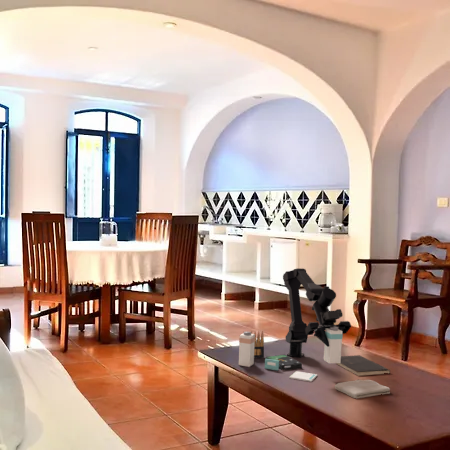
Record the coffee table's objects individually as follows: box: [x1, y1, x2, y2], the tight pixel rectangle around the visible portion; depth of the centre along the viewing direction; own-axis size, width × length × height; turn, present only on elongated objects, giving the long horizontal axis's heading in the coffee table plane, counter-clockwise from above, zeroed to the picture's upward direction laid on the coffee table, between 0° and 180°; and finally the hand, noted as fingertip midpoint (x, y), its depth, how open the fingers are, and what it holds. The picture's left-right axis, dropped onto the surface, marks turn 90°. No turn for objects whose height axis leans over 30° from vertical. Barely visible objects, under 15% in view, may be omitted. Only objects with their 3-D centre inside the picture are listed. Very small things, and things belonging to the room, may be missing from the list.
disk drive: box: [264, 354, 303, 371], centre depth 245 cm, size 10×3×15 cm
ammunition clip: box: [242, 330, 265, 359], centre depth 255 cm, size 11×2×12 cm, turn 105°
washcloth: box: [334, 379, 391, 399], centre depth 213 cm, size 12×18×3 cm, turn 118°
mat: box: [289, 370, 318, 383], centre depth 228 cm, size 9×9×1 cm
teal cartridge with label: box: [264, 358, 280, 371], centre depth 237 cm, size 1×6×4 cm, turn 65°
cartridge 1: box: [238, 331, 255, 368], centre depth 243 cm, size 5×5×14 cm
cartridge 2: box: [323, 326, 344, 364], centre depth 228 cm, size 5×5×14 cm
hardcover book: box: [335, 354, 391, 377], centre depth 246 cm, size 16×23×2 cm
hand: (334, 345), depth 227 cm, fingers closed on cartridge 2, 5 cm apart
